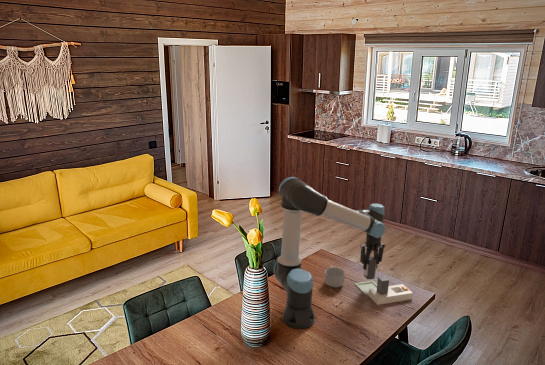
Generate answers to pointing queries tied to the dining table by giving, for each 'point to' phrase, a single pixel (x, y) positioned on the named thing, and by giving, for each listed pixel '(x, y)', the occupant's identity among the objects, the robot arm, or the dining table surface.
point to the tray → (366, 286)
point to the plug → (371, 268)
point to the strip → (389, 292)
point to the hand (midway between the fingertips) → (369, 274)
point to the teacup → (334, 276)
